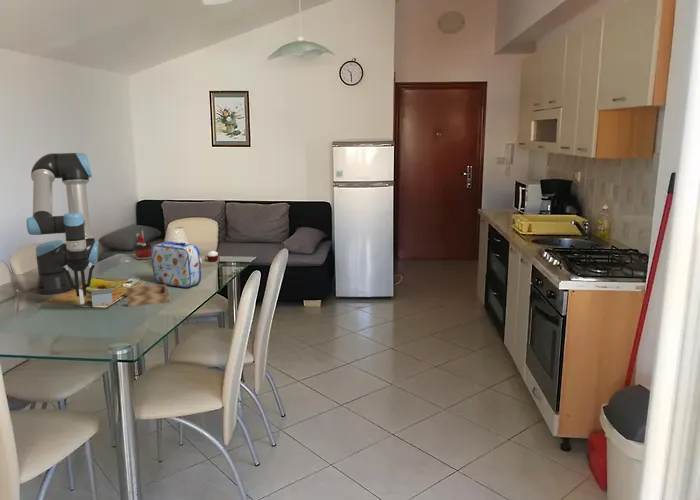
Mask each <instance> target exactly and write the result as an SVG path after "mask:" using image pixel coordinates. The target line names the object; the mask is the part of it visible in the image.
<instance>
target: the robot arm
mask: <svg viewBox="0 0 700 500" xmlns="http://www.w3.org/2000/svg"><path fill="white" fill-rule="evenodd" d="M89 162H90V161H89V158H88V155H87V154H85V153H83V152H82V153H81V152H66V153H65V152H63V153H62V152H61V153H60V152H58V153H47V154H44V155H43V156H41V157H40V158H39V159H37V161H36V162H35V163H34V164H33V166H32V169H31V173H30V178H31V180H32V182H33V187H32V189H33V190H32V192H33V194H32V196H33V197H32V216H29V217H27V218H26V230H27V233H28V234H29V235H30V236H31V235H32V236H42V235H54V234H64V235H65V242H63V240H60V239H58V240H51V241H46V242H43V243H39V244H38V245H37V246H36V247H35V258H36V263H37V271H38V272H37V273H38V278H37V283H36V287H35V290H36V291H35V292H36V293H37V294H38V295H39V294H40V295H54V294H56V295H57V294H61V293H65V291H66V292H68V290H69V291H71V290H72V289H74V290H75V293H76V297H77V298H78V297H79V302H80V303H79V304H80V305H85V297H86V296H87V289H88V288H90V286H91V282H92V276H93V271H94V268H96V267H95V266H96V264H97V263H98V257H99V256H98V254H99V252H98V251H99V241H98V240H96V239H95V237H94V235H92V234H91V225H90V224H91V222H90V214H89V213H90V212H89V202H88V194H87V184H88V183H89V182H90V179H89V178H92V177H93V175H92V171H91V166H90V163H89ZM55 179H61V182H62V183H63V184H64V185H65V186H66V187H65V188H66V199H67V207H68V212H67V213H64V214H63V215H54V214H53V182H54V181H55ZM87 267H88V269H89V271H88V276H87V282H86V274H85V270H86V269H87ZM69 268H70V269H71V271H73V276H74V281H73V278H72V276H71V273H70V271H69ZM79 272H80V276H81V277H80V278H81V287H80V282H79V281H80V280H79V274H78V273H79ZM70 289H71V290H70Z"/></svg>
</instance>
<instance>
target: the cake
mask: <svg viewBox="0 0 700 500" xmlns="http://www.w3.org/2000/svg"><path fill="white" fill-rule="evenodd" d="M135 237H136V238H137V241H136V247H135V250H134V253H135V258H136V259H137V260H149V259H152V258H151V248H152V245H151V242H150V241H145V237H144V228H141V234H140V233H136V234H135Z"/></svg>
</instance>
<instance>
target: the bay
mask: <svg viewBox="0 0 700 500" xmlns="http://www.w3.org/2000/svg"><path fill="white" fill-rule="evenodd" d="M125 290H126V301H127V307H128V306H129V307H137V305H138V306H145V305H146V304H147V305H154V304H156V305H157V304H164V303H165V304H166V303H170V292H169V289H168V286H167V284H158V285H157V284H155V285H147V286H136V287H135V286H134V287H127V288H126V289H125ZM147 305H146V306H147Z"/></svg>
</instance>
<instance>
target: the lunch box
mask: <svg viewBox="0 0 700 500" xmlns="http://www.w3.org/2000/svg"><path fill="white" fill-rule="evenodd" d="M150 259H151V266H152V267H151V268H152V273H153V277H154V279H155V280H156V281H157V282H158V283H160V284H163V285H165V284H166V286H167V285H168V286H170V287H171V286H172V287H179V288H189V287H192V286H195V285H199V284H200V283H201V280H202V269H201V266H202V263H203V260H202V257H201V252H200V249H199V247H198V246H196V245H195V244H191V243H190V244H185V243H176V242H169V241H166V242H164V241H163V242H161V243H157V244H154V245H151V258H150Z"/></svg>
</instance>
